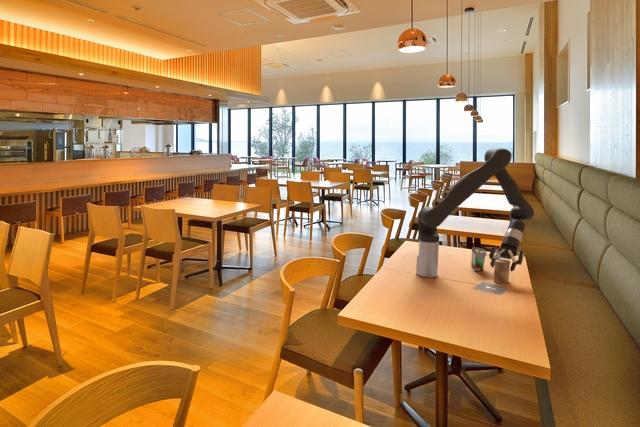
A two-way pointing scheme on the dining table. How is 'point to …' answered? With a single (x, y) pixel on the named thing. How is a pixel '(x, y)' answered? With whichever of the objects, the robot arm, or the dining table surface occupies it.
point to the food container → (478, 259)
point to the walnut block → (501, 271)
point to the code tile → (491, 288)
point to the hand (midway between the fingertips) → (501, 268)
